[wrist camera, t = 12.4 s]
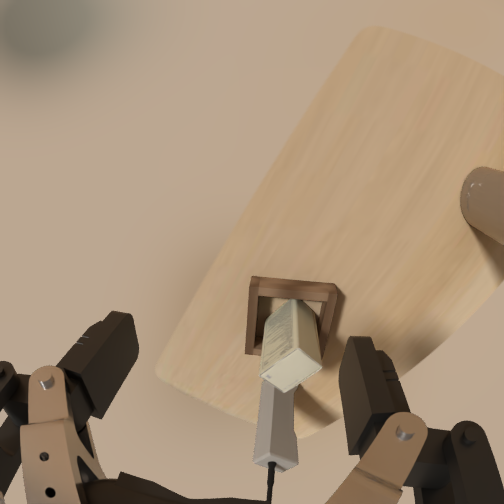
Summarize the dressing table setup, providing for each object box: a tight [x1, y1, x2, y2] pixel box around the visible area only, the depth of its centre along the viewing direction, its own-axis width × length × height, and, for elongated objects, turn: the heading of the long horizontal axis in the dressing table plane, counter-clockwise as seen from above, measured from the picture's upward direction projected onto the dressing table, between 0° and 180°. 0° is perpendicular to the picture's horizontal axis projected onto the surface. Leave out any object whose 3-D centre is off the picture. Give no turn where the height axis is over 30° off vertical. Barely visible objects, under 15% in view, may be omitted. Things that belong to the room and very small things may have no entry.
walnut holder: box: [245, 276, 338, 360], centre depth 41 cm, size 11×11×3 cm
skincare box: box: [259, 299, 322, 393], centre depth 37 cm, size 6×4×12 cm
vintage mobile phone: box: [253, 381, 298, 504], centre depth 36 cm, size 4×5×25 cm
